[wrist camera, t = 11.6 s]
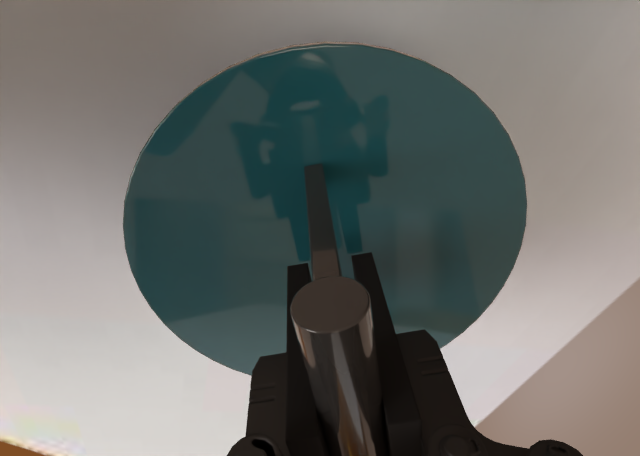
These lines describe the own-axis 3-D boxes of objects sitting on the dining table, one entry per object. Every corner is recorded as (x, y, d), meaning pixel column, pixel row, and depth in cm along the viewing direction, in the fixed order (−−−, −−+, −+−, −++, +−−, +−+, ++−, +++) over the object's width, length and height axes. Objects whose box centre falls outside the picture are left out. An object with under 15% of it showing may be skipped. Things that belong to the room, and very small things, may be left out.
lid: (204, 386, 22) (156, 614, 14) (53, 86, 14) (-289, 237, 6) (497, 339, 22) (619, 548, 14) (537, -4, 13) (930, 20, 5)
